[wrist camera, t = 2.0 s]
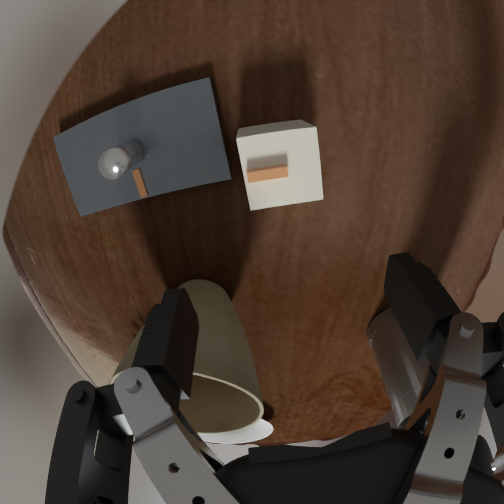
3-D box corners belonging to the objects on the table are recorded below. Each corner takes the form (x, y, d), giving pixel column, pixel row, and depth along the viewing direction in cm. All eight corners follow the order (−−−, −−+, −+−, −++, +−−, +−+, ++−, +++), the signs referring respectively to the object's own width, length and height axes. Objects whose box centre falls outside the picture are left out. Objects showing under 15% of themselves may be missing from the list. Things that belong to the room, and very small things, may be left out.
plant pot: (278, 277, 33) (294, 394, 20) (232, 345, 41) (230, 440, 27) (161, 234, 30) (110, 346, 16) (139, 315, 37) (109, 410, 24)
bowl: (192, 432, 66) (191, 442, 63) (155, 396, 52) (152, 410, 49) (276, 429, 64) (277, 440, 61) (265, 393, 50) (266, 408, 47)
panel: (211, 78, 21) (201, 73, 16) (232, 174, 26) (228, 195, 21) (60, 134, 22) (27, 148, 17) (86, 211, 28) (61, 236, 23)
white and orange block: (300, 119, 23) (319, 128, 18) (307, 176, 27) (325, 203, 21) (238, 128, 24) (235, 140, 18) (249, 185, 27) (250, 214, 21)
